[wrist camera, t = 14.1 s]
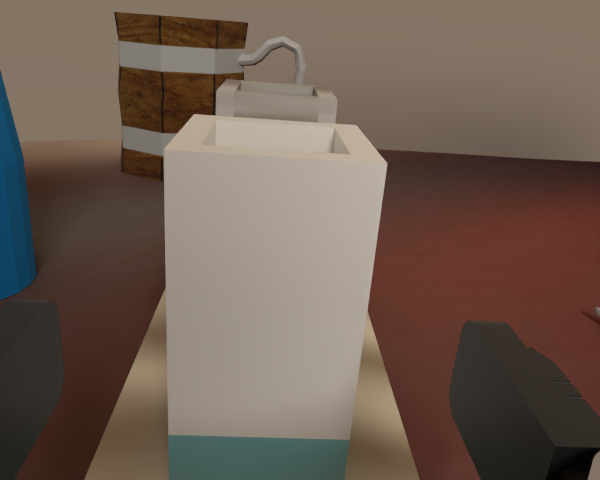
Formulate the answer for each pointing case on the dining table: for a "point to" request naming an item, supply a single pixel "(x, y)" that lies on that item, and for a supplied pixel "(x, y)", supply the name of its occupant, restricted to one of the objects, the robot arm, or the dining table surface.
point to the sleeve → (266, 294)
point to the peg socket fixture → (153, 352)
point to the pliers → (597, 311)
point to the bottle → (13, 209)
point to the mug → (177, 78)
